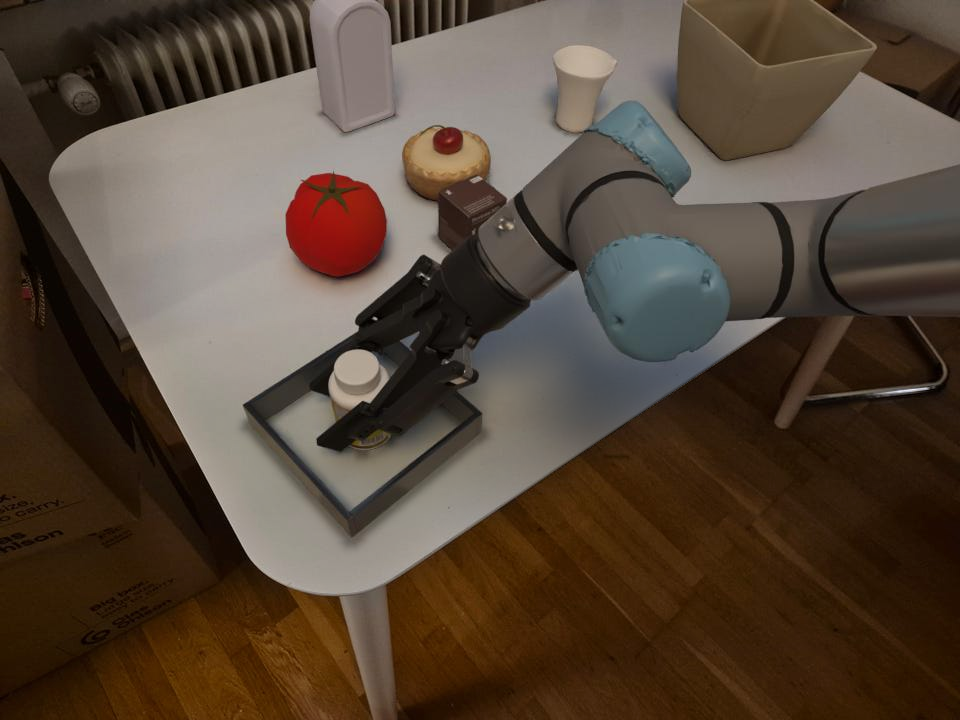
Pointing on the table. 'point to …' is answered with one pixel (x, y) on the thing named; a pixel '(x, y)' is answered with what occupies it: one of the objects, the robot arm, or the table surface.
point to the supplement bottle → (357, 389)
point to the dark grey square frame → (395, 487)
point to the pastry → (443, 159)
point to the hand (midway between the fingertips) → (325, 417)
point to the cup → (580, 84)
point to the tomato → (335, 224)
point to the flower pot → (762, 70)
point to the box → (466, 209)
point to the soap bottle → (353, 61)
